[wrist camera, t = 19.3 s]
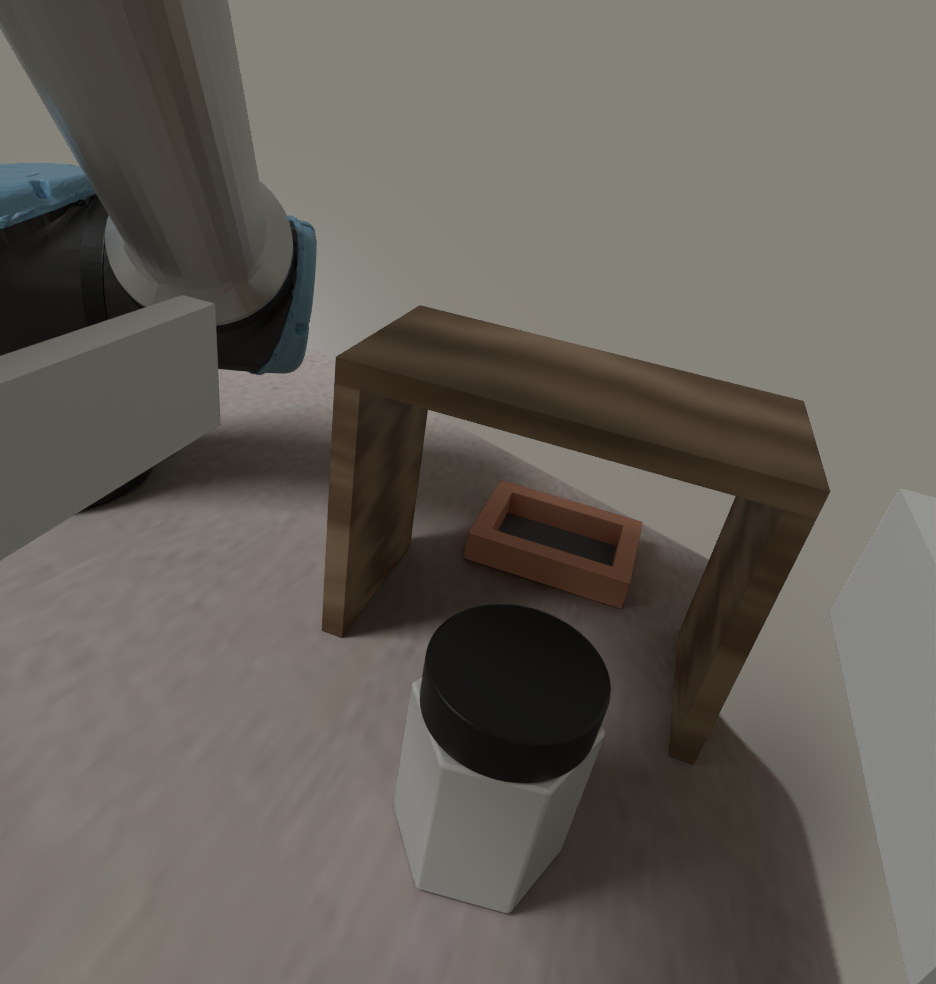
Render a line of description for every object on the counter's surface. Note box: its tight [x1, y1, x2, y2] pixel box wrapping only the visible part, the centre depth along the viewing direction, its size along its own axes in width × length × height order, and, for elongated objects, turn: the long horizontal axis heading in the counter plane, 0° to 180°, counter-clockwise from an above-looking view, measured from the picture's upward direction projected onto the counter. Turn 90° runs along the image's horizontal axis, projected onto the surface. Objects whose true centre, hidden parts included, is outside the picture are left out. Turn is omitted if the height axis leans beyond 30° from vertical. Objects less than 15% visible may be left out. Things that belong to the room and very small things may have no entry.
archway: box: [322, 305, 830, 764], centre depth 44 cm, size 12×25×20 cm, turn 71°
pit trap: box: [464, 480, 642, 609], centre depth 57 cm, size 10×13×2 cm
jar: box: [394, 604, 611, 914], centre depth 32 cm, size 9×8×12 cm
